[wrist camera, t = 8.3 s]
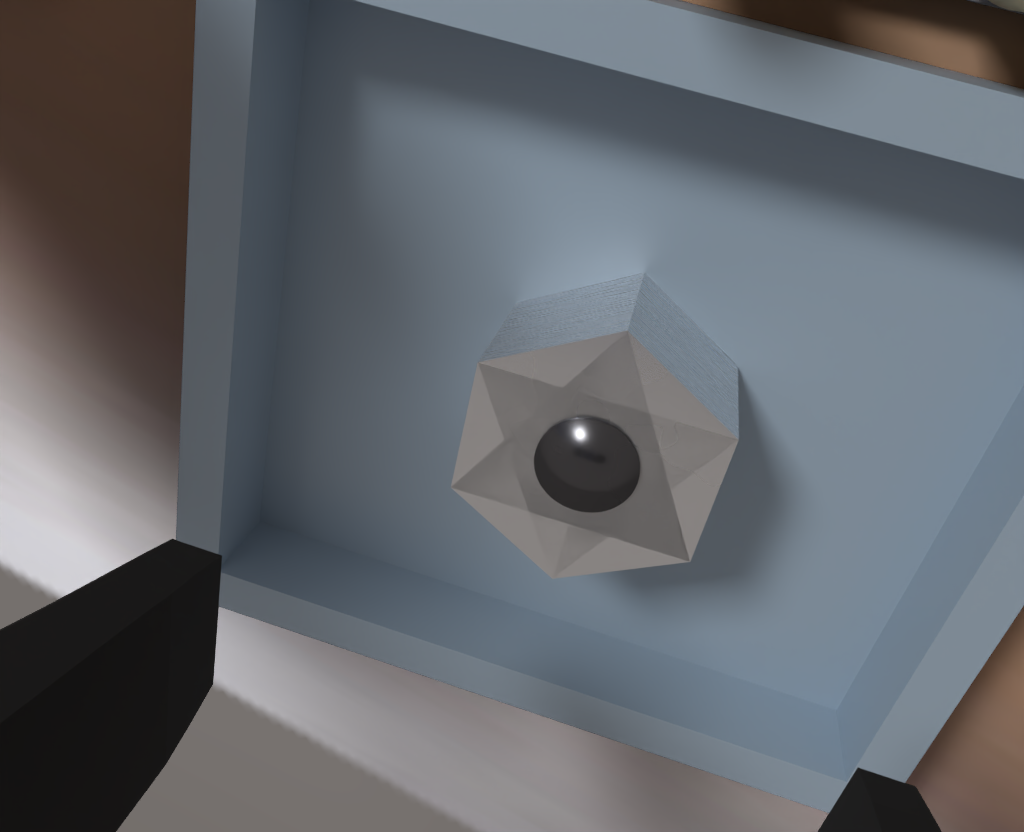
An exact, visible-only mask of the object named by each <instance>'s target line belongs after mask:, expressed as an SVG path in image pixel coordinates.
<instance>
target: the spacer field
mask: <svg viewBox="0 0 1024 832" xmlns="http://www.w3.org/2000/svg"><path fill="white" fill-rule="evenodd" d="M967 1H971V2H975V3H979V4H983V5H987V6H991V7H995V8H999V9H1003V10H1007V11H1011V12H1015V13H1019V14H1023V15H1024V0H967Z"/></svg>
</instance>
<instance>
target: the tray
mask: <svg viewBox="0 0 1024 832" xmlns="http://www.w3.org/2000/svg"><path fill="white" fill-rule="evenodd" d="M643 272H645V273H646V274H647V275H648V276H649V277H650V278H651V279H652V280H653V281H654V282H655V283H656V284H657V285H658V286H659V287H660V288H661V289H662V290H663V291H664V292H665V293H666V294H667V295H668V296H669V297H670V298H671V299H672V300H673V301H674V302H675V303H676V304H677V305H678V306H679V307H680V308H681V309H682V310H683V311H684V312H685V313H686V314H687V315H688V316H689V317H690V318H691V319H692V320H693V321H694V322H695V323H696V324H697V325H698V326H699V327H700V328H701V329H702V330H703V331H704V332H705V333H706V334H707V335H708V336H709V337H710V338H711V339H712V340H713V341H714V342H715V343H716V344H717V345H718V346H719V347H720V348H721V349H722V350H723V351H724V352H725V353H726V354H727V355H728V356H729V357H730V358H731V359H732V360H733V361H734V362H735V363H736V364H737V365H738V410H739V441H738V443H737V446H736V448H735V451H734V453H733V456H732V458H731V461H730V463H729V466H728V468H727V471H726V473H725V476H724V478H723V481H722V483H721V486H720V488H719V491H718V493H717V496H716V498H715V501H714V503H713V506H712V508H711V511H710V513H709V516H708V518H707V521H706V523H705V526H704V528H703V531H702V533H701V536H700V539H699V541H698V544H697V546H696V549H695V551H694V554H693V556H692V559H691V561H690V562H685V563H677V564H669V565H661V566H653V567H645V568H637V569H628V570H620V571H612V572H604V573H596V574H588V575H580V576H571V577H563V578H555V579H552V578H551V577H550V576H549V575H547V574H546V573H545V572H544V571H543V570H542V569H541V568H540V567H539V566H537V565H536V564H535V563H534V562H533V561H532V560H531V559H530V558H529V557H527V556H526V555H525V554H524V553H523V552H522V551H521V550H520V549H519V548H517V547H516V546H515V545H514V544H513V543H512V542H511V541H510V540H509V539H507V538H506V537H505V536H504V535H503V534H502V533H501V532H500V531H499V530H497V529H496V528H495V527H494V526H493V525H492V524H491V523H490V522H489V521H487V520H486V519H485V518H484V517H483V516H482V515H481V514H480V513H479V512H477V511H476V510H475V509H474V508H473V507H472V506H471V505H470V504H469V503H467V502H466V501H465V500H464V499H463V498H462V497H461V496H460V495H459V494H457V493H456V492H455V491H454V490H453V489H452V488H451V484H452V479H453V474H454V470H455V465H456V460H457V456H458V451H459V447H460V442H461V437H462V433H463V428H464V423H465V419H466V414H467V409H468V405H469V400H470V395H471V391H472V386H473V381H474V377H475V372H476V368H477V363H478V361H479V360H480V358H481V356H482V355H483V353H484V352H485V350H486V349H487V347H488V346H489V344H490V343H491V341H492V339H493V338H494V336H495V335H496V333H497V332H498V330H499V329H500V327H501V326H502V324H503V322H504V321H505V319H506V318H507V316H508V315H509V313H510V312H511V310H512V308H513V307H514V305H515V304H516V302H519V301H523V300H528V299H532V298H536V297H541V296H545V295H549V294H553V293H558V292H562V291H566V290H571V289H575V288H579V287H583V286H588V285H592V284H596V283H600V282H605V281H609V280H613V279H618V278H622V277H626V276H630V275H635V274H639V273H643ZM176 540H177V541H180V542H183V543H186V544H189V545H192V546H195V547H198V548H201V549H204V550H207V551H210V552H213V553H216V554H219V555H222V564H221V578H220V592H219V607H222V608H225V609H228V610H231V611H234V612H237V613H240V614H243V615H246V616H249V617H252V618H255V619H258V620H261V621H264V622H266V623H269V624H272V625H275V626H278V627H281V628H284V629H287V630H290V631H293V632H296V633H299V634H302V635H305V636H308V637H311V638H314V639H317V640H320V641H323V642H326V643H328V644H331V645H334V646H337V647H340V648H343V649H346V650H349V651H352V652H355V653H358V654H361V655H364V656H367V657H370V658H373V659H376V660H379V661H382V662H385V663H388V664H390V665H393V666H396V667H399V668H402V669H405V670H408V671H411V672H414V673H417V674H420V675H423V676H426V677H429V678H432V679H435V680H438V681H441V682H444V683H447V684H450V685H452V686H455V687H458V688H461V689H464V690H467V691H470V692H473V693H476V694H479V695H482V696H485V697H488V698H491V699H494V700H497V701H500V702H503V703H506V704H509V705H512V706H514V707H517V708H520V709H523V710H526V711H529V712H532V713H535V714H538V715H541V716H544V717H547V718H550V719H553V720H556V721H559V722H562V723H565V724H568V725H571V726H574V727H576V728H579V729H582V730H585V731H588V732H591V733H594V734H597V735H600V736H603V737H606V738H609V739H612V740H615V741H618V742H621V743H624V744H627V745H630V746H633V747H635V748H638V749H641V750H644V751H647V752H650V753H653V754H656V755H659V756H662V757H665V758H668V759H671V760H674V761H677V762H680V763H683V764H686V765H689V766H692V767H695V768H697V769H700V770H703V771H706V772H709V773H712V774H715V775H718V776H721V777H724V778H727V779H730V780H733V781H736V782H739V783H742V784H745V785H748V786H751V787H754V788H757V789H759V790H762V791H765V792H768V793H771V794H774V795H777V796H780V797H783V798H786V799H789V800H792V801H795V802H798V803H801V804H804V805H807V806H810V807H813V808H816V809H819V810H821V811H824V812H827V813H830V811H831V810H832V808H833V806H834V805H835V803H836V802H837V800H838V798H839V797H840V795H841V793H842V792H843V790H844V789H845V787H846V785H847V784H848V782H849V781H850V779H851V777H852V776H853V774H854V773H855V771H856V769H857V768H861V769H864V770H867V771H870V772H873V773H876V774H879V775H882V776H885V777H888V778H891V779H894V780H897V781H900V782H903V783H905V782H906V781H907V779H908V778H909V776H910V775H911V773H912V772H913V770H914V769H915V767H916V766H917V764H918V763H919V761H920V760H921V758H922V757H923V755H924V754H925V752H926V751H927V749H928V748H929V746H930V745H931V743H932V742H933V740H934V739H935V737H936V736H937V734H938V733H939V731H940V730H941V728H942V727H943V725H944V724H945V722H946V721H947V719H948V718H949V716H950V715H951V713H952V712H953V710H954V709H955V708H956V706H957V705H958V703H959V702H960V700H961V699H962V697H963V696H964V694H965V693H966V691H967V690H968V688H969V687H970V685H971V684H972V682H973V681H974V679H975V678H976V676H977V675H978V673H979V672H980V670H981V669H982V667H983V666H984V664H985V663H986V661H987V660H988V658H989V657H990V655H991V654H992V652H993V651H994V649H995V648H996V646H997V645H998V643H999V642H1000V640H1001V639H1002V637H1003V636H1004V634H1005V633H1006V631H1007V630H1008V628H1009V627H1010V625H1011V624H1012V622H1013V621H1014V619H1015V618H1016V616H1017V615H1018V613H1019V612H1020V610H1021V609H1022V607H1023V606H1024V89H1021V88H1017V87H1013V86H1010V85H1006V84H1002V83H998V82H994V81H990V80H986V79H982V78H979V77H975V76H971V75H967V74H963V73H959V72H955V71H951V70H948V69H944V68H940V67H936V66H932V65H928V64H924V63H920V62H917V61H913V60H909V59H905V58H901V57H897V56H893V55H889V54H886V53H882V52H878V51H874V50H870V49H866V48H862V47H859V46H855V45H851V44H847V43H843V42H839V41H835V40H831V39H828V38H824V37H820V36H816V35H812V34H808V33H804V32H800V31H797V30H793V29H789V28H785V27H781V26H777V25H773V24H769V23H766V22H762V21H758V20H754V19H750V18H746V17H742V16H738V15H735V14H731V13H727V12H723V11H719V10H715V9H711V8H707V7H704V6H700V5H696V4H692V3H688V2H684V1H680V0H196V17H195V44H194V71H193V98H192V125H191V151H190V178H189V205H188V232H187V259H186V286H185V312H184V339H183V366H182V393H181V420H180V447H179V473H178V500H177V527H176Z"/></svg>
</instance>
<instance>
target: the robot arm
mask: <svg viewBox="0 0 1024 832" xmlns="http://www.w3.org/2000/svg"><path fill="white" fill-rule="evenodd" d="M221 564H222V555H219V554H216V553H213V552H210V551H207V550H204V549H201V548H198V547H195V546H192V545H189V544H186V543H183V542H180V541H177V540H174V539H171V540H169V541H167V542H165V543H163V544H162V545H160V546H158V547H156V548H154V549H152V550H150V551H148V552H146V553H144V554H142V555H140V556H138V557H136V558H135V559H133V560H131V561H129V562H127V563H125V564H123V565H122V566H120V567H118V568H116V569H114V570H112V571H110V572H109V573H107V574H105V575H103V576H101V577H99V578H98V579H96V580H94V581H92V582H90V583H88V584H86V585H85V586H83V587H81V588H79V589H77V590H75V591H73V592H71V593H70V594H68V595H66V596H64V597H62V598H60V599H58V600H57V601H55V602H53V603H51V604H49V605H47V606H46V607H43V608H41V609H40V610H37V611H35V612H34V613H32V614H30V615H28V616H26V617H24V618H22V619H20V620H18V621H16V622H14V623H12V624H10V625H8V626H6V627H4V628H2V629H0V832H116V831H117V830H118V828H119V827H120V826H121V824H122V823H123V821H124V820H125V819H126V817H127V816H128V815H129V813H130V812H131V811H132V809H133V808H134V807H135V805H136V804H137V802H138V801H139V800H140V799H141V797H142V796H143V795H144V793H145V792H146V791H147V789H148V788H149V787H150V785H151V784H152V782H153V781H154V780H155V778H156V777H157V776H158V774H159V773H160V772H161V770H162V769H163V768H164V766H165V765H166V763H167V762H168V760H169V758H170V757H171V755H172V753H173V751H174V750H175V748H176V747H177V745H178V743H179V741H180V740H181V738H182V737H183V735H184V733H185V732H186V730H187V728H188V727H189V725H190V723H191V721H192V720H193V718H194V716H195V714H196V713H197V711H198V709H199V707H200V706H201V704H202V702H203V700H204V699H205V697H206V695H207V693H208V692H209V690H210V688H211V687H212V685H213V676H214V662H215V648H216V634H217V620H218V606H219V592H220V578H221ZM818 832H941V830H940V828H939V826H938V824H937V823H936V821H935V819H934V817H933V816H932V814H931V812H930V810H929V808H928V807H927V805H926V803H925V802H924V800H923V798H922V796H921V795H920V793H919V791H918V789H917V788H916V787H915V786H912V785H909V784H906V783H903V782H900V781H897V780H894V779H891V778H888V777H885V776H882V775H879V774H876V773H873V772H870V771H867V770H864V769H861V768H857V769H856V771H855V773H854V774H853V776H852V777H851V779H850V781H849V782H848V784H847V785H846V787H845V789H844V790H843V792H842V793H841V795H840V797H839V798H838V800H837V802H836V803H835V805H834V806H833V808H832V810H831V811H830V813H829V814H828V816H827V818H826V819H825V821H824V822H823V824H822V826H821V827H820V829H819V830H818Z"/></svg>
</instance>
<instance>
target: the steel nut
mask: <svg viewBox="0 0 1024 832" xmlns="http://www.w3.org/2000/svg"><path fill="white" fill-rule="evenodd" d="M738 441H739V410H738V365H737V364H736V363H735V362H734V361H733V360H732V359H731V358H730V357H729V356H728V355H727V354H726V353H725V352H724V351H723V350H722V349H721V348H720V347H719V346H718V345H717V344H716V343H715V342H714V341H713V340H712V339H711V338H710V337H709V336H708V335H707V334H706V333H705V332H704V331H703V330H702V329H701V328H700V327H699V326H698V325H697V324H696V323H695V322H694V321H693V320H692V319H691V318H690V317H689V316H688V315H687V314H686V313H685V312H684V311H683V310H682V309H681V308H680V307H679V306H678V305H677V304H676V303H675V302H674V301H673V300H672V299H671V298H670V297H669V296H668V295H667V294H666V293H665V292H664V291H663V290H662V289H661V288H660V287H659V286H658V285H657V284H656V283H655V282H654V281H653V280H652V279H651V278H650V277H649V276H648V275H647V274H646V273H645V272H643V273H639V274H635V275H630V276H626V277H622V278H618V279H613V280H609V281H605V282H600V283H596V284H592V285H588V286H583V287H579V288H575V289H571V290H566V291H562V292H558V293H553V294H549V295H545V296H541V297H536V298H532V299H528V300H523V301H519V302H516V304H515V305H514V307H513V308H512V310H511V312H510V313H509V315H508V316H507V318H506V319H505V321H504V322H503V324H502V326H501V327H500V329H499V330H498V332H497V333H496V335H495V336H494V338H493V339H492V341H491V343H490V344H489V346H488V347H487V349H486V350H485V352H484V353H483V355H482V356H481V358H480V360H479V361H478V363H477V368H476V372H475V377H474V381H473V386H472V391H471V395H470V400H469V405H468V409H467V414H466V419H465V423H464V428H463V433H462V437H461V442H460V447H459V451H458V456H457V460H456V465H455V470H454V474H453V479H452V484H451V488H452V489H453V490H454V491H455V492H456V493H457V494H459V495H460V496H461V497H462V498H463V499H464V500H465V501H466V502H467V503H469V504H470V505H471V506H472V507H473V508H474V509H475V510H476V511H477V512H479V513H480V514H481V515H482V516H483V517H484V518H485V519H486V520H487V521H489V522H490V523H491V524H492V525H493V526H494V527H495V528H496V529H497V530H499V531H500V532H501V533H502V534H503V535H504V536H505V537H506V538H507V539H509V540H510V541H511V542H512V543H513V544H514V545H515V546H516V547H517V548H519V549H520V550H521V551H522V552H523V553H524V554H525V555H526V556H527V557H529V558H530V559H531V560H532V561H533V562H534V563H535V564H536V565H537V566H539V567H540V568H541V569H542V570H543V571H544V572H545V573H546V574H547V575H549V576H550V577H551V578H552V579H555V578H563V577H571V576H580V575H588V574H596V573H604V572H612V571H620V570H628V569H637V568H645V567H653V566H661V565H669V564H677V563H685V562H690V561H691V559H692V556H693V554H694V551H695V549H696V546H697V544H698V541H699V539H700V536H701V533H702V531H703V528H704V526H705V523H706V521H707V518H708V516H709V513H710V511H711V508H712V506H713V503H714V501H715V498H716V496H717V493H718V491H719V488H720V486H721V483H722V481H723V478H724V476H725V473H726V471H727V468H728V466H729V463H730V461H731V458H732V456H733V453H734V451H735V448H736V446H737V443H738Z"/></svg>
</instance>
